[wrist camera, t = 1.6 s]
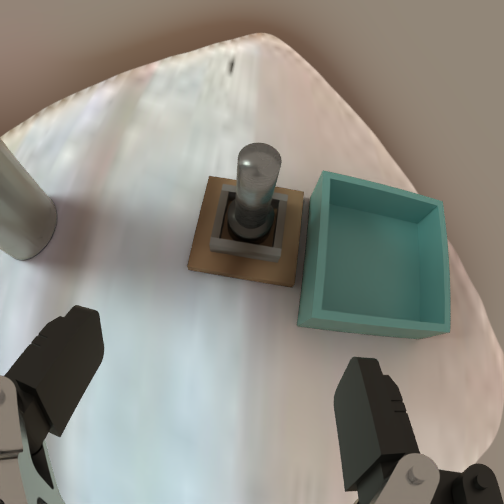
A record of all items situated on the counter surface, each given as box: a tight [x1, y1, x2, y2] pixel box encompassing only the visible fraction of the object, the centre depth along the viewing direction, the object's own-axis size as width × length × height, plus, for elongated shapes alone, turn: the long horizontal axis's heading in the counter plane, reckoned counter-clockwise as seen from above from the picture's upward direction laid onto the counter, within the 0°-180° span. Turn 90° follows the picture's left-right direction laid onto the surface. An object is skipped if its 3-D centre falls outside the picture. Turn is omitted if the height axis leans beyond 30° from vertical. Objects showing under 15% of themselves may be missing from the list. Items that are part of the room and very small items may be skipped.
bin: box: [297, 171, 450, 339], centre depth 32 cm, size 15×15×6 cm
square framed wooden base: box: [187, 176, 304, 287], centre depth 34 cm, size 11×11×3 cm
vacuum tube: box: [228, 143, 281, 245], centre depth 28 cm, size 5×5×12 cm
